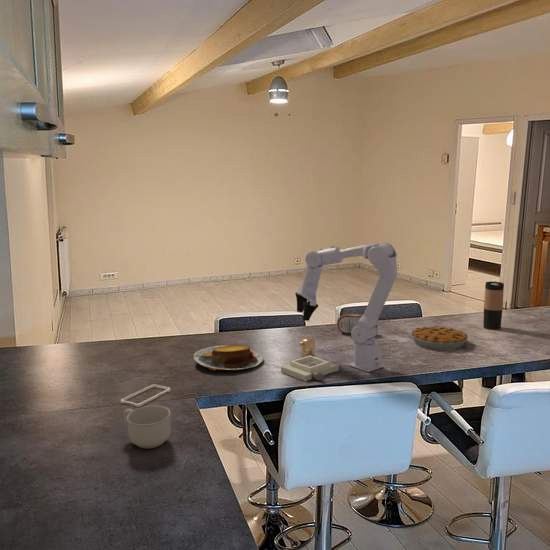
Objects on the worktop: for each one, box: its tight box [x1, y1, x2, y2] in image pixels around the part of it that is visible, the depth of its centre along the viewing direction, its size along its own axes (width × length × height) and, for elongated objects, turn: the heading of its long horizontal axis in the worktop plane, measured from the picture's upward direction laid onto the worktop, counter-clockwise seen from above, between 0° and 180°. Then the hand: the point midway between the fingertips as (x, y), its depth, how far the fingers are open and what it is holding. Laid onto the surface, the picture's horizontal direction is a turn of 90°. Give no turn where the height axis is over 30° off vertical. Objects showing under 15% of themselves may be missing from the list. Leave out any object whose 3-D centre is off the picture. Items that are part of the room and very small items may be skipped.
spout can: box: [299, 337, 316, 358], centre depth 211 cm, size 5×6×7 cm
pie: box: [410, 326, 468, 351], centre depth 229 cm, size 22×22×5 cm
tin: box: [336, 313, 364, 334], centre depth 243 cm, size 15×3×8 cm, turn 84°
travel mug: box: [482, 281, 505, 331], centre depth 250 cm, size 8×8×20 cm
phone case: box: [120, 383, 171, 408], centre depth 176 cm, size 7×1×15 cm
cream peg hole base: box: [280, 356, 340, 382], centre depth 196 cm, size 15×16×4 cm
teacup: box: [122, 404, 172, 449], centre depth 145 cm, size 14×11×8 cm
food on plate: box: [193, 345, 264, 371], centre depth 207 cm, size 25×25×7 cm
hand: (302, 315), depth 213 cm, fingers open, 7 cm apart
